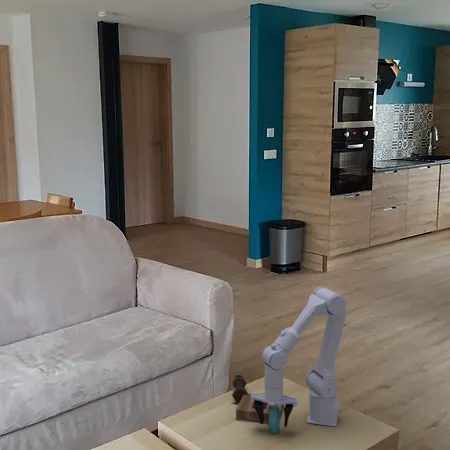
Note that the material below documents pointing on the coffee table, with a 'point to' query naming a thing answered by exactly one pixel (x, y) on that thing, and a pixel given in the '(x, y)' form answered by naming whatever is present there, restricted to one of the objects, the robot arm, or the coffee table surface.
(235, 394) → the bolt
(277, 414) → the pin
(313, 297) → the robot arm
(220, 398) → the coffee table surface
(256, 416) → the bore block
